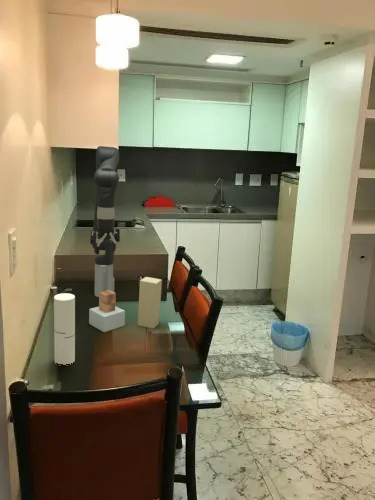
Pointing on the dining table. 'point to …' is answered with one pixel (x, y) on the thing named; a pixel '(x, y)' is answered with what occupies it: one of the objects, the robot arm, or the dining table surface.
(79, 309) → the dining table surface
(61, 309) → the cylindrical container
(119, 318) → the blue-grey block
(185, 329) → the dining table surface
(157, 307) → the tall beige block
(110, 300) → the terracotta block
